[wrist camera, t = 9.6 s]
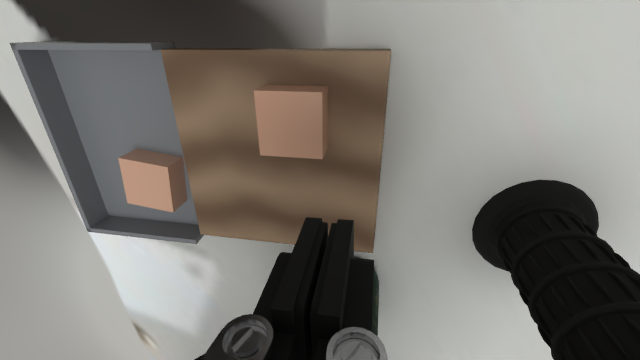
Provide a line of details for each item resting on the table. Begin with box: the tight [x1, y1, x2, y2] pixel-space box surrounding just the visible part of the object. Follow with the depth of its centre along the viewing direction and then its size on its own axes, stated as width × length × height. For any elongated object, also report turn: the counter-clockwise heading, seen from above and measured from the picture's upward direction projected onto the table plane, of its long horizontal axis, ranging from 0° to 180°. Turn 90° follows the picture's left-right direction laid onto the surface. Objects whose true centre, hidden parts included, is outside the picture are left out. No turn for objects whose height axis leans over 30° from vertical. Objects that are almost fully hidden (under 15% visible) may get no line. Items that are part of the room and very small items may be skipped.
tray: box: [10, 42, 204, 244], centre depth 30 cm, size 19×13×3 cm
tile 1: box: [254, 85, 328, 159], centre depth 24 cm, size 5×5×2 cm
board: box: [161, 48, 391, 253], centre depth 28 cm, size 18×18×2 cm
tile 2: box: [118, 149, 187, 212], centre depth 31 cm, size 5×5×2 cm
